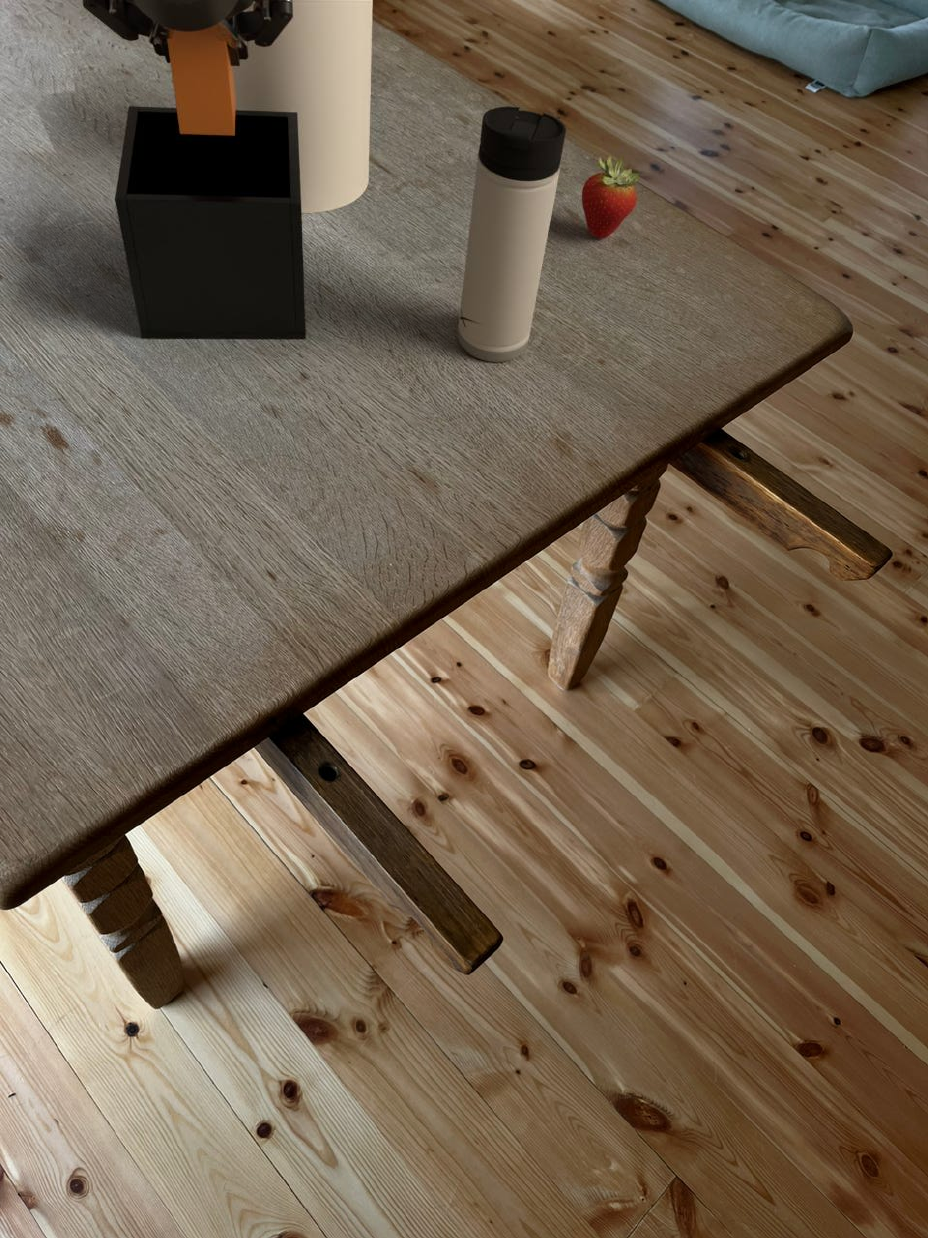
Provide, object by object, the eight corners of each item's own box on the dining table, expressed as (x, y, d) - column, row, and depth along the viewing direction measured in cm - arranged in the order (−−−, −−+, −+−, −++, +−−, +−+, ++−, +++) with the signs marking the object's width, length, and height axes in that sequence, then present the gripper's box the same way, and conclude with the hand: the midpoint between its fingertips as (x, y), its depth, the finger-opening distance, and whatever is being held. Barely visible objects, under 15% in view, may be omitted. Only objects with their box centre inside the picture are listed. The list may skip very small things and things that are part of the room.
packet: (179, 134, 75) (164, 19, 69) (182, 100, 78) (168, -13, 72) (234, 135, 76) (224, 22, 69) (235, 102, 79) (225, -10, 72)
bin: (141, 338, 84) (114, 199, 74) (151, 243, 92) (128, 105, 82) (305, 339, 86) (301, 203, 76) (302, 245, 94) (297, 111, 84)
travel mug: (448, 356, 87) (472, 128, 71) (466, 311, 91) (493, 85, 75) (518, 372, 86) (559, 147, 70) (533, 327, 90) (575, 103, 74)
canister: (389, 200, 100) (398, -22, 84) (258, 222, 96) (241, -7, 80) (339, 131, 107) (339, -86, 91) (215, 149, 102) (191, -76, 86)
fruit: (633, 251, 99) (654, 174, 93) (583, 255, 98) (600, 177, 91) (615, 221, 102) (633, 144, 95) (565, 225, 101) (581, 147, 94)
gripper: (48, -6, 58) (107, 100, 74) (300, 7, 60) (302, 107, 76) (38, -151, 56) (100, -10, 73) (295, -133, 59) (298, 1, 75)
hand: (203, 50), depth 75 cm, fingers closed on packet, 4 cm apart
